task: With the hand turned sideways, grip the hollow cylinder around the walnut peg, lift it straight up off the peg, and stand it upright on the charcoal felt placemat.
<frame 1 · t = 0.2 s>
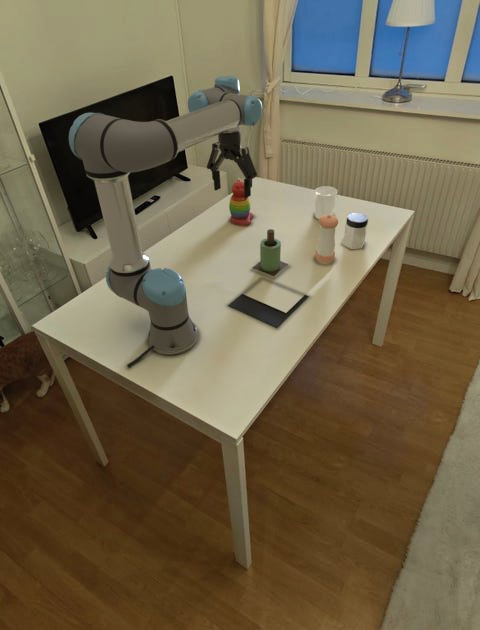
hand: (232, 193, 154), 27 cm above the table, tool pointing down, fingers open, 13 cm apart
pepper shaker: (324, 260, 169), on the table
placemat: (268, 301, 150), on the table
jar: (353, 244, 177), on the table
stacking bear: (241, 220, 196), on the table
hollow cylinder: (270, 265, 165), point 1 cm above the table, touching peg stand
candle holder: (323, 216, 197), on the table
peg stand: (270, 268, 165), on the table
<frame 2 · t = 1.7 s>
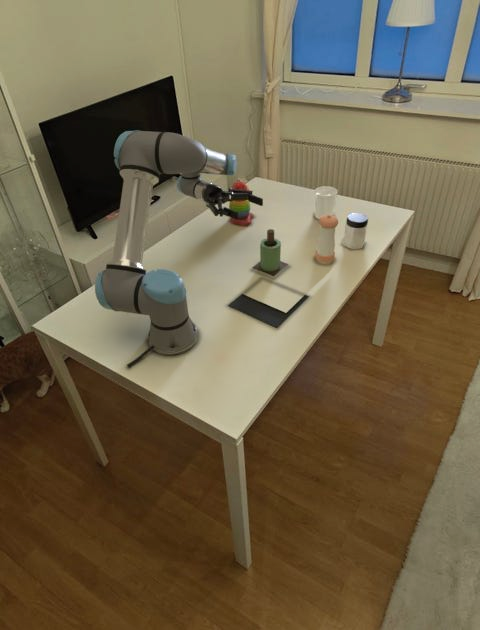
hand: (250, 209, 156), 22 cm above the table, tool horizontal, fingers open, 13 cm apart
nothing on the table moved.
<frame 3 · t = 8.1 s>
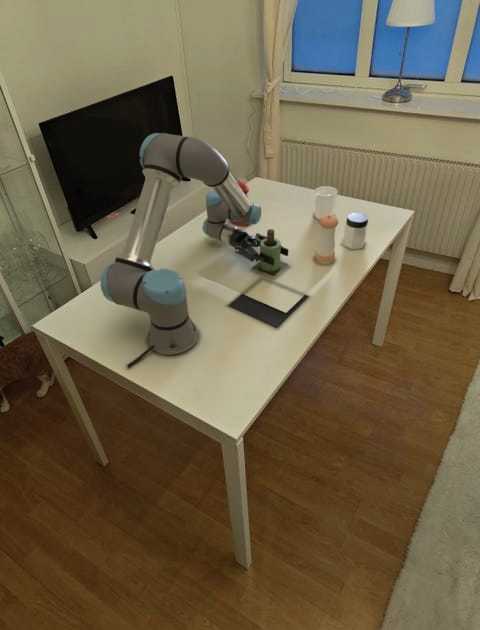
hand: (280, 257, 158), 7 cm above the table, tool horizontal, fingers closed on hollow cylinder, 7 cm apart
hollow cylinder: (270, 265, 165), point 1 cm above the table, touching gripper, peg stand
everything else where it was.
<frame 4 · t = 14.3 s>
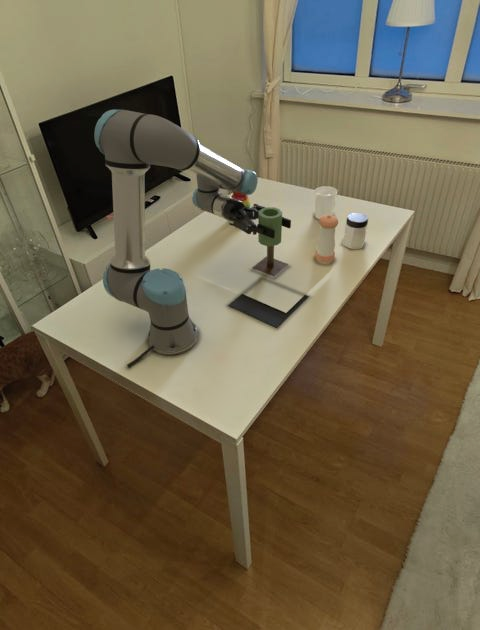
hand: (282, 229, 136), 26 cm above the table, tool horizontal, fingers closed on hollow cylinder, 7 cm apart
hollow cylinder: (269, 240, 142), point 20 cm above the table, touching gripper
everything else where it was.
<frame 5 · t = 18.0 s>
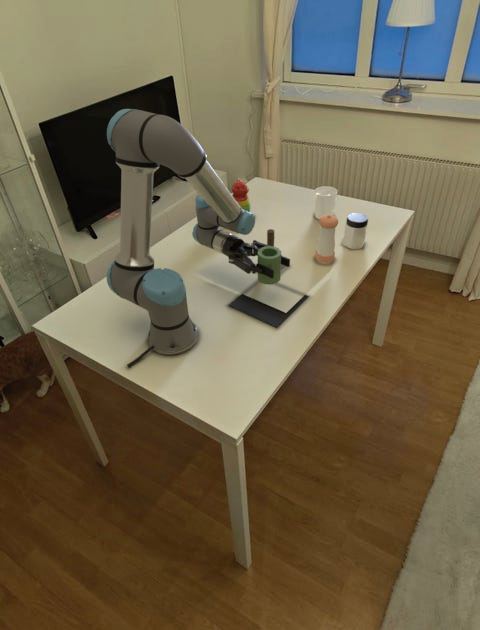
hand: (281, 268, 137), 16 cm above the table, tool horizontal, fingers closed on hollow cylinder, 7 cm apart
hollow cylinder: (269, 278, 144), point 10 cm above the table, touching gripper
everything else where it was.
when the fingers open (6 cm above the table, at t = 20.9 s): hollow cylinder stays where it is, resting on placemat.
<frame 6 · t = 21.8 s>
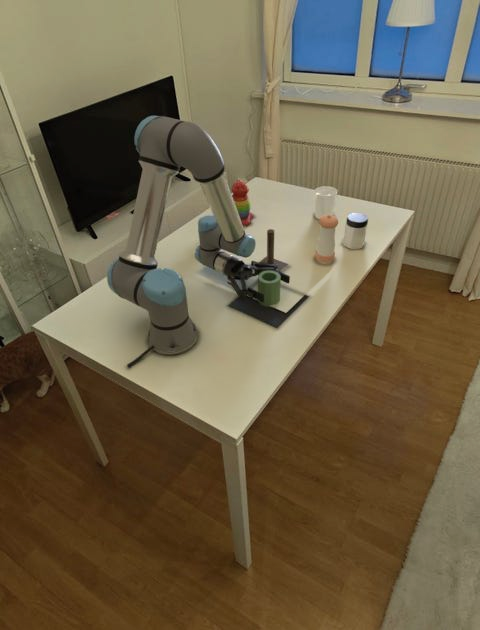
hand: (276, 289, 144), 7 cm above the table, tool horizontal, fingers open, 13 cm apart
hollow cylinder: (269, 300, 150), resting on placemat
everything else where it was.
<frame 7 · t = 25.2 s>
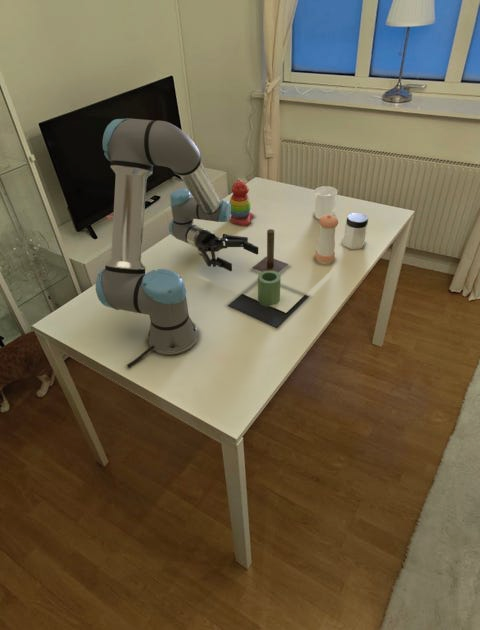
hand: (244, 259, 148), 12 cm above the table, tool horizontal, fingers open, 13 cm apart
nothing on the table moved.
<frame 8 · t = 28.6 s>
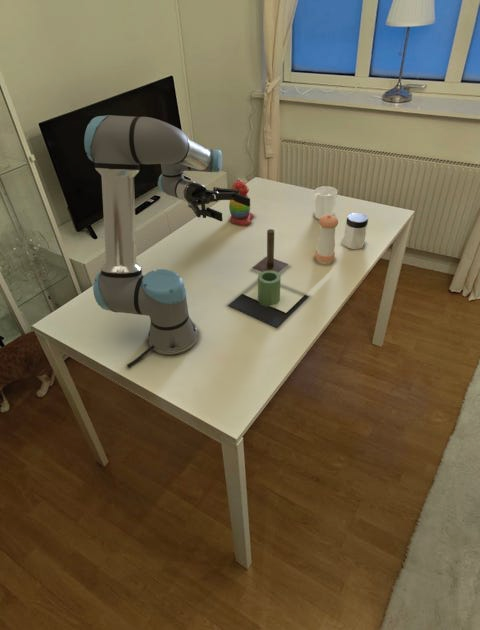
hand: (235, 209, 143), 28 cm above the table, tool horizontal, fingers open, 13 cm apart
nothing on the table moved.
at the end: hollow cylinder inside the target area on the placemat (0.1 cm from its centre), point 0.4 cm above the placemat's base; hollow cylinder tilted 0°; the gripper is holding nothing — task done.
